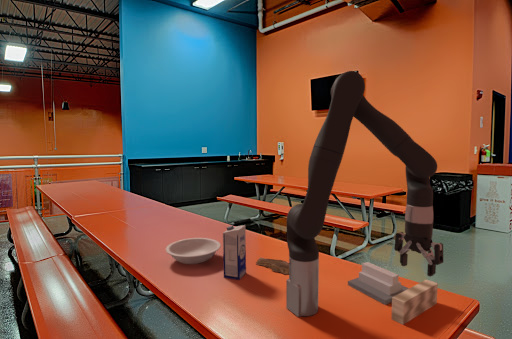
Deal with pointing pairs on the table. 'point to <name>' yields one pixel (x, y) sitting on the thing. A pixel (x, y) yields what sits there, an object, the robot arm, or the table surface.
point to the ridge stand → (377, 283)
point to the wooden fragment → (274, 265)
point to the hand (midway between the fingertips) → (416, 270)
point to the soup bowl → (193, 250)
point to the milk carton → (234, 252)
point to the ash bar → (414, 301)
